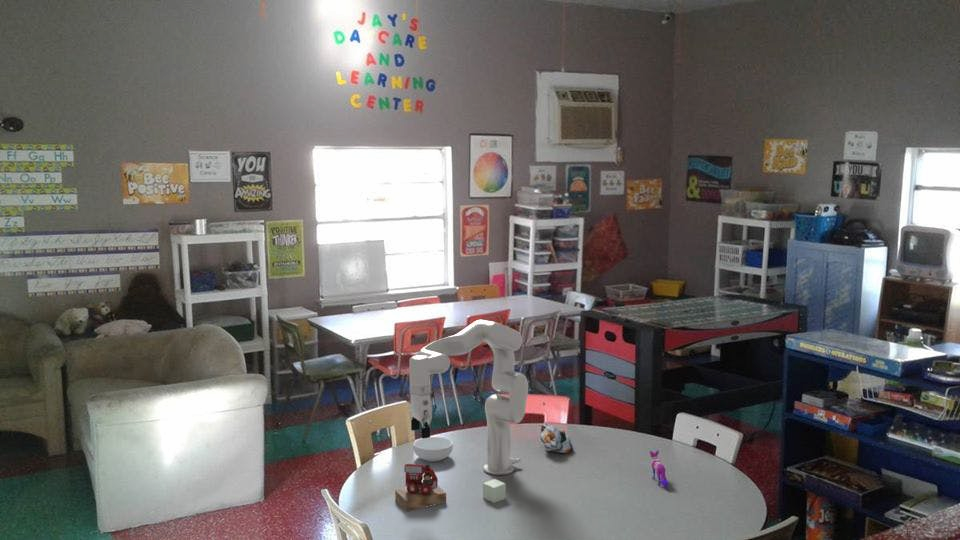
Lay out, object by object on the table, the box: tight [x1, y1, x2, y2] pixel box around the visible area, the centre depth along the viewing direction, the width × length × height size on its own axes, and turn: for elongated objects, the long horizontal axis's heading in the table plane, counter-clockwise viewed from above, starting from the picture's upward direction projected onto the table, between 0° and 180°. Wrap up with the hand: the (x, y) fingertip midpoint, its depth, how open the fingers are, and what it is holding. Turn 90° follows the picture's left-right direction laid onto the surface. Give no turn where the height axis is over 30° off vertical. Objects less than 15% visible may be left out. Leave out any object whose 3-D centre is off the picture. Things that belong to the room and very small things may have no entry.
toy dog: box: [649, 450, 669, 488], centre depth 316 cm, size 4×18×10 cm, turn 6°
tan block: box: [394, 485, 447, 512], centre depth 298 cm, size 16×11×4 cm
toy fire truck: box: [403, 463, 439, 495], centre depth 297 cm, size 7×12×10 cm, turn 83°
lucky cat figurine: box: [540, 423, 575, 455], centre depth 350 cm, size 15×12×14 cm
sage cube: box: [482, 478, 507, 504], centre depth 301 cm, size 6×6×6 cm
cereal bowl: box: [412, 436, 454, 463], centre depth 341 cm, size 17×17×7 cm
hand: (420, 433), depth 295 cm, fingers open, 9 cm apart
